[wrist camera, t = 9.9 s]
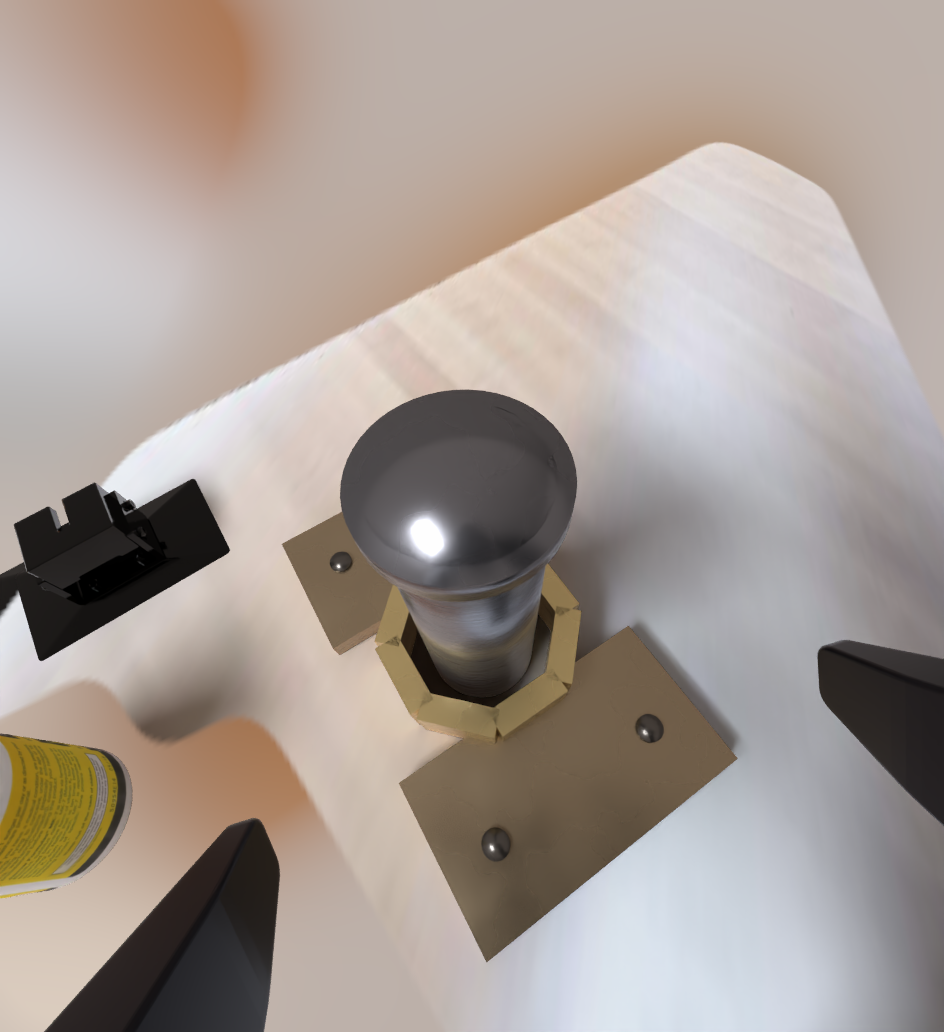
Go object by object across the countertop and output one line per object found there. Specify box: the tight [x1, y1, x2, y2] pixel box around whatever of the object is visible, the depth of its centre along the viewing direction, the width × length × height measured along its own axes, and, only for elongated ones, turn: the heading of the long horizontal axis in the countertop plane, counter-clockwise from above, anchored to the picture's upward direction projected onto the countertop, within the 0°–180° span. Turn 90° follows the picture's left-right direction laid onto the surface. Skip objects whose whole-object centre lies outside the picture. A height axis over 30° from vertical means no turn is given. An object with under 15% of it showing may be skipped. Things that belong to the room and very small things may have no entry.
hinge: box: [282, 512, 738, 962], centre depth 21 cm, size 18×11×2 cm, turn 32°
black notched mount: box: [0, 479, 230, 661], centre depth 24 cm, size 12×7×5 cm, turn 126°
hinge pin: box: [340, 390, 577, 697], centre depth 17 cm, size 5×5×13 cm
